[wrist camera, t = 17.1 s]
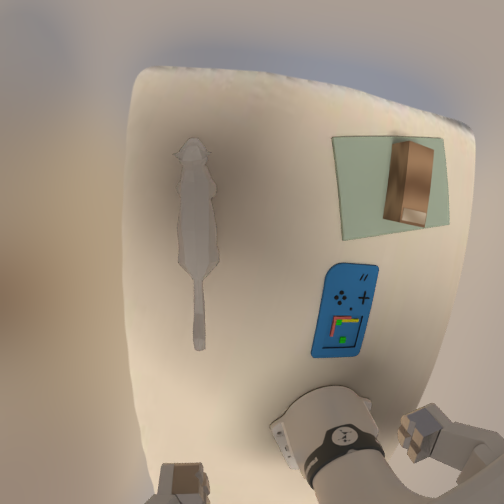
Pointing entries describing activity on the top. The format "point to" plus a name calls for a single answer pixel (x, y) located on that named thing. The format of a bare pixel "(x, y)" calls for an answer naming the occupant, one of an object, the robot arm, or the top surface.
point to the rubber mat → (381, 185)
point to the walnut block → (409, 183)
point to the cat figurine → (197, 227)
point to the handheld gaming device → (344, 310)
